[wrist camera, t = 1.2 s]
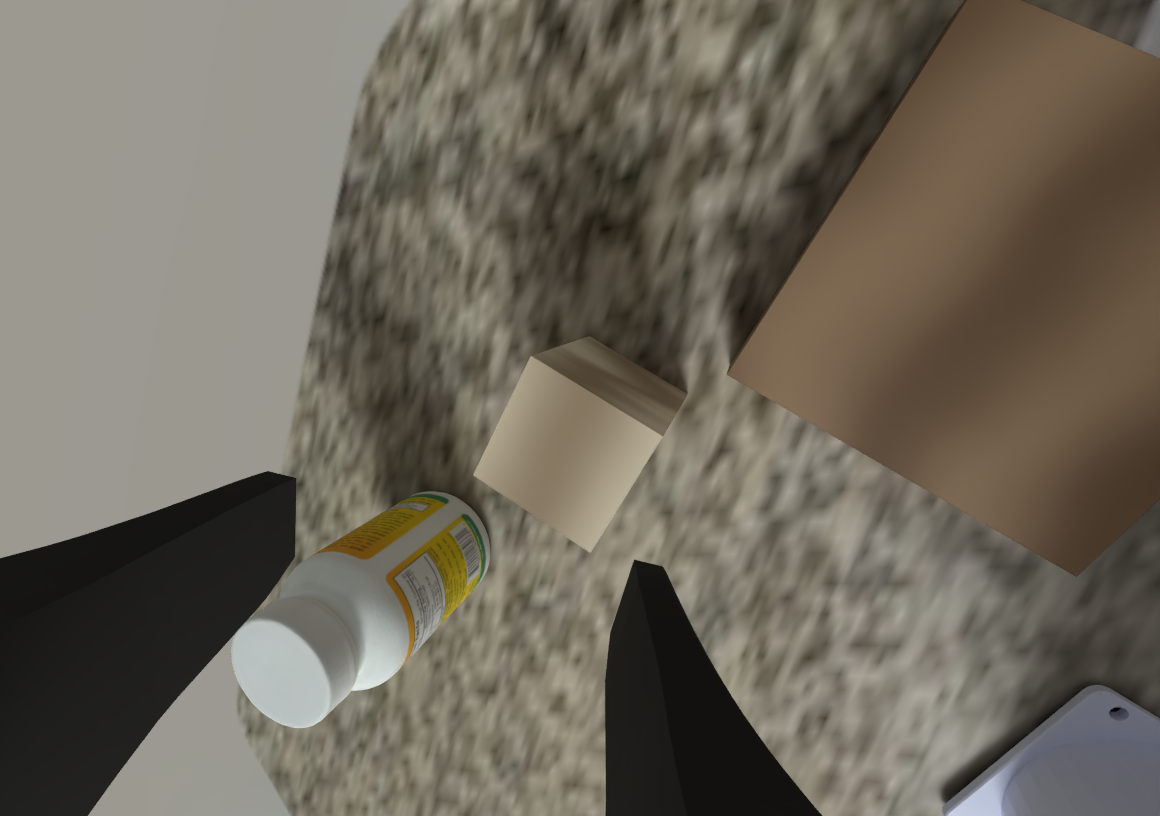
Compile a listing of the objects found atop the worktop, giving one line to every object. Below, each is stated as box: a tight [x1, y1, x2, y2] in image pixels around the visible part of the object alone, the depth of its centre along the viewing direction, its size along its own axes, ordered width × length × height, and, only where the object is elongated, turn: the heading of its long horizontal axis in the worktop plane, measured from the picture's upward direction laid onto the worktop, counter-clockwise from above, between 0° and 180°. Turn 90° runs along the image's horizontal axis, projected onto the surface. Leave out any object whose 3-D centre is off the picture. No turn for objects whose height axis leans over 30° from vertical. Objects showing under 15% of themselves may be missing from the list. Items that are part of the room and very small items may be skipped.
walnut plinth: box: [727, 0, 1160, 577], centre depth 16 cm, size 12×12×2 cm
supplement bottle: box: [231, 491, 490, 728], centre depth 21 cm, size 5×5×10 cm
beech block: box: [473, 336, 687, 553], centre depth 19 cm, size 4×4×6 cm
